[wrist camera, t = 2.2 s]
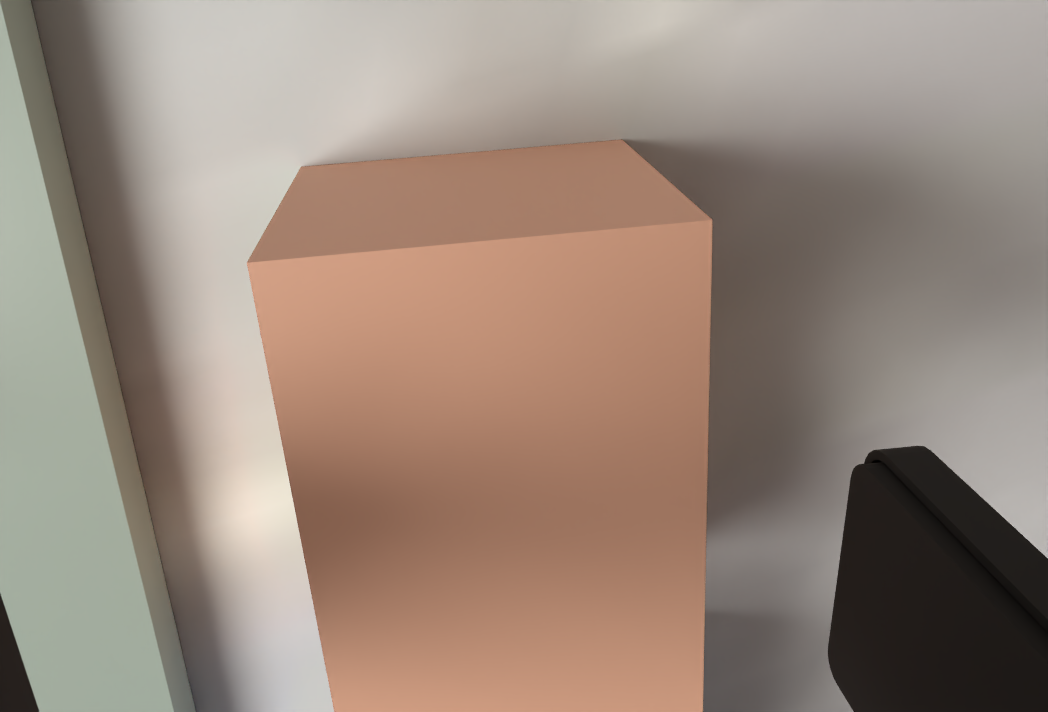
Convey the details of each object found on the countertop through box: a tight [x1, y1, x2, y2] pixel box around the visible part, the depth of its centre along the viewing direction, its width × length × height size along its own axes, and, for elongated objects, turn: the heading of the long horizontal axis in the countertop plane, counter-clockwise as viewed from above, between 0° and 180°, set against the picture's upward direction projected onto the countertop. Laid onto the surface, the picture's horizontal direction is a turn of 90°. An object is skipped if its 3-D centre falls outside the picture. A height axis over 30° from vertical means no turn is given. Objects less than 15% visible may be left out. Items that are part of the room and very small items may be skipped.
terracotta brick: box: [247, 140, 712, 712], centre depth 14 cm, size 5×8×5 cm, turn 4°
